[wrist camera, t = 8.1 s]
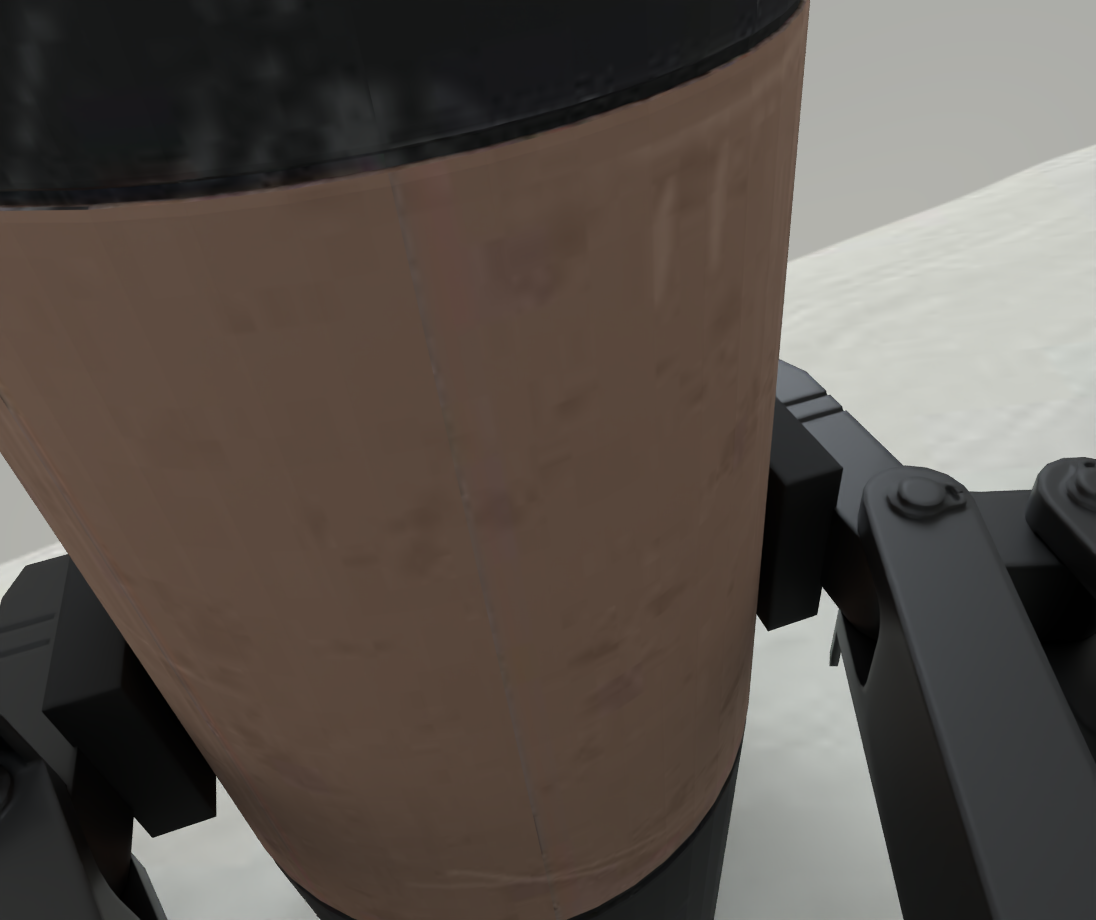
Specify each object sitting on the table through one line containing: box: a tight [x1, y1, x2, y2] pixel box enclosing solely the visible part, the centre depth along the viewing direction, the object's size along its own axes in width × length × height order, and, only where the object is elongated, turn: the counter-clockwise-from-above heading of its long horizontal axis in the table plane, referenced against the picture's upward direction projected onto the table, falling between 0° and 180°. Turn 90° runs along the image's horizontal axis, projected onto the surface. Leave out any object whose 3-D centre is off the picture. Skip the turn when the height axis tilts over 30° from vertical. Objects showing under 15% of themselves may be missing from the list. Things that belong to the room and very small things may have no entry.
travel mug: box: [0, 0, 810, 920], centre depth 12 cm, size 8×8×20 cm
